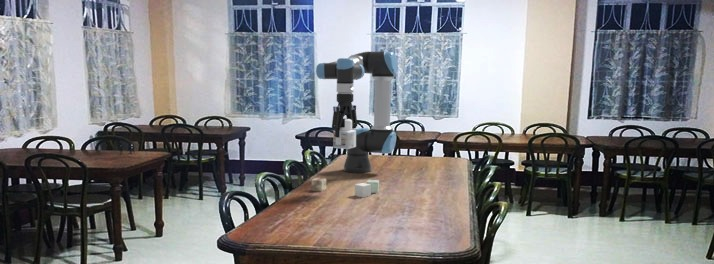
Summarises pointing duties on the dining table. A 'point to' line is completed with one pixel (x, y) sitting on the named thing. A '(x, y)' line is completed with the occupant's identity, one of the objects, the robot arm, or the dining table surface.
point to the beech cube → (318, 184)
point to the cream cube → (362, 190)
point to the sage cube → (374, 185)
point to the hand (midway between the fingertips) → (344, 143)
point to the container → (346, 135)
